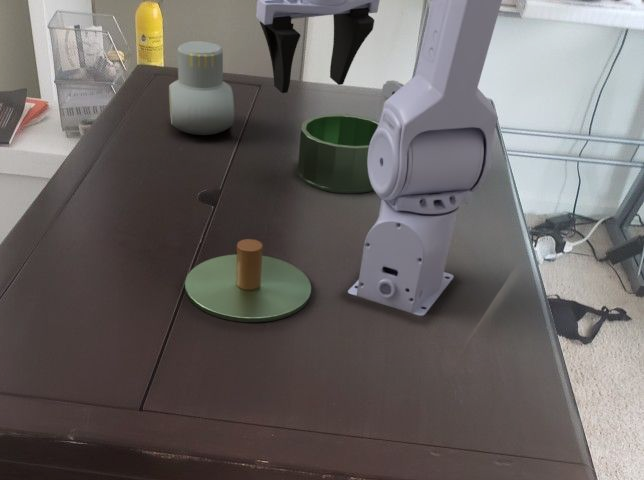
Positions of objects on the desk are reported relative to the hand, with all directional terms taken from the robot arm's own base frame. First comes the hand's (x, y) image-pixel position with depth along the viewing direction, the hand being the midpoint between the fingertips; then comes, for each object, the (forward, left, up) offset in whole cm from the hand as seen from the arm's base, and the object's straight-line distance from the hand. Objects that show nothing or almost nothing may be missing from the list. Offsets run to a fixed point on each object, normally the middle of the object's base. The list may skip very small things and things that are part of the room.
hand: (309, 85), depth 87 cm
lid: (-30, -9, -10) cm, 33 cm away
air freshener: (+5, +18, -10) cm, 22 cm away
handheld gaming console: (+13, -9, -10) cm, 19 cm away
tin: (+2, -5, -10) cm, 11 cm away
